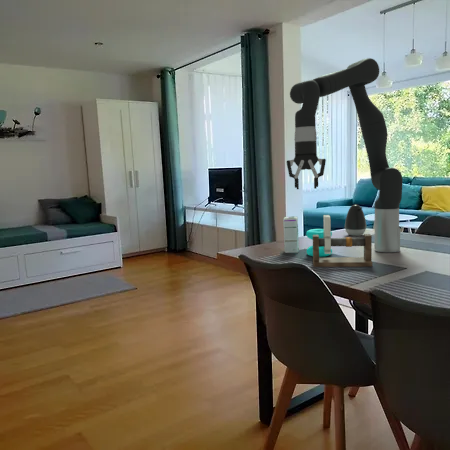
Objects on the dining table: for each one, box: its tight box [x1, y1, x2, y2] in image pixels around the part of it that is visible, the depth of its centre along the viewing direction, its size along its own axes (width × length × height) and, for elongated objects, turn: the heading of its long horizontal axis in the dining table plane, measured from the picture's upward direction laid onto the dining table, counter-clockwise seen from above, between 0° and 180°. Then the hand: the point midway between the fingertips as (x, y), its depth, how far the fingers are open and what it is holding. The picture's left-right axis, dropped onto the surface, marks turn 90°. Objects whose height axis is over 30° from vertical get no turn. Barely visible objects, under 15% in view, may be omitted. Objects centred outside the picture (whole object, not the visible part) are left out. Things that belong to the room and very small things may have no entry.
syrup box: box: [282, 216, 300, 254], centre depth 180 cm, size 6×6×14 cm
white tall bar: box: [323, 214, 332, 255], centre depth 155 cm, size 2×7×13 cm, turn 171°
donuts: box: [305, 228, 333, 258], centre depth 172 cm, size 10×10×10 cm
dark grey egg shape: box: [344, 204, 367, 237], centre depth 212 cm, size 10×10×15 cm
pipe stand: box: [312, 233, 374, 268], centre depth 155 cm, size 20×8×10 cm, turn 81°
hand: (306, 188), depth 154 cm, fingers open, 5 cm apart
